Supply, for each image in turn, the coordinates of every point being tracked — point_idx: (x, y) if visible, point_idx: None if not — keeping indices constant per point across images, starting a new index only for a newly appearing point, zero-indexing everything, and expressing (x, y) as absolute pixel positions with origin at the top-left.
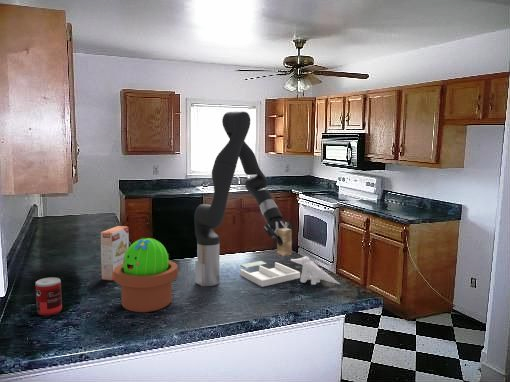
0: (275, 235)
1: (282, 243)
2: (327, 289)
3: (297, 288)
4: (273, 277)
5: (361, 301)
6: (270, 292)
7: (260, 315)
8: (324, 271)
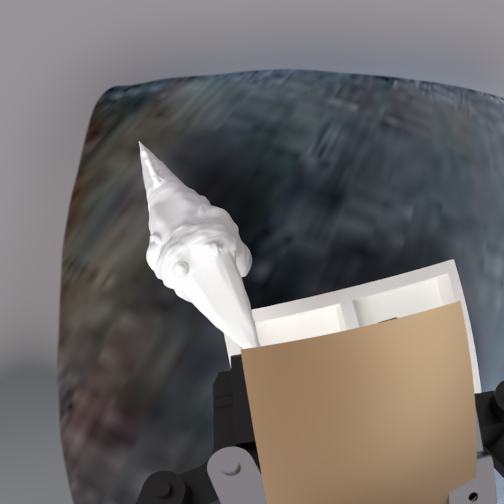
0: (476, 400)
1: (384, 321)
2: (179, 178)
3: (292, 225)
4: (395, 285)
5: (154, 81)
6: (415, 223)
7: (461, 97)
8: (153, 170)
